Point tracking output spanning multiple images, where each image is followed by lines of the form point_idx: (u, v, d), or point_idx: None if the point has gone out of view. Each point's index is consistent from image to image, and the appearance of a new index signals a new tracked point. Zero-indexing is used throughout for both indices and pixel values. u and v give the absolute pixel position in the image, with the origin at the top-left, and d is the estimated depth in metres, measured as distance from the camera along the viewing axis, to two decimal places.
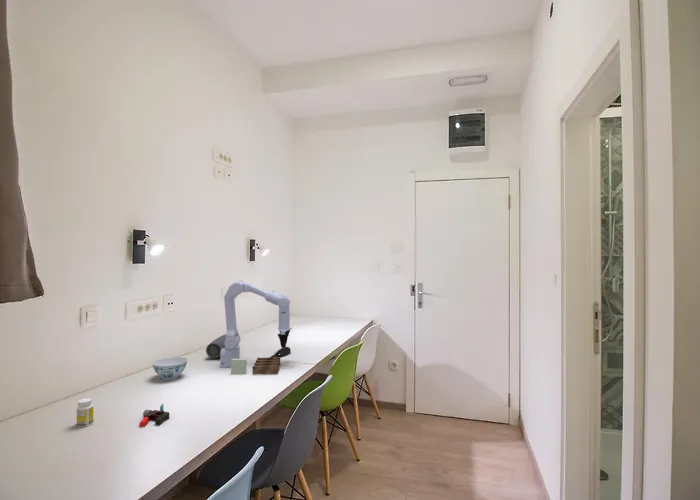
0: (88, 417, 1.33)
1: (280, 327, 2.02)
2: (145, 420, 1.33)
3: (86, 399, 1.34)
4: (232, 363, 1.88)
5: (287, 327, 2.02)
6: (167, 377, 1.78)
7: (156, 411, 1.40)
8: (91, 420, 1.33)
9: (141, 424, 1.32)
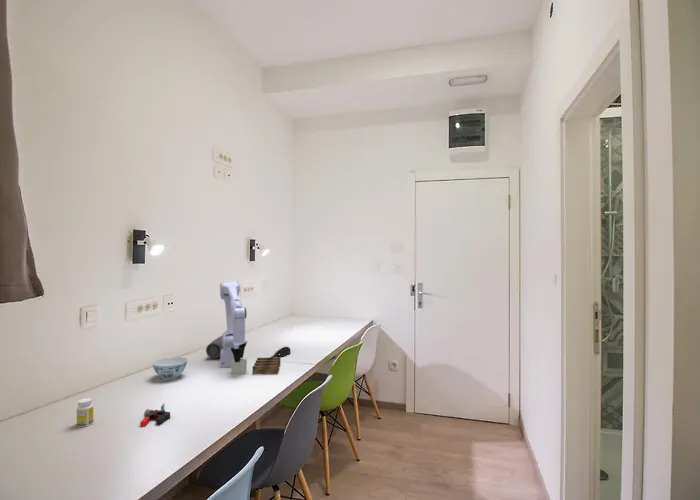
0: (88, 417, 1.33)
1: (234, 340, 1.87)
2: (146, 420, 1.34)
3: (86, 399, 1.34)
4: (232, 363, 1.88)
5: (242, 340, 1.87)
6: (167, 377, 1.78)
7: (157, 411, 1.40)
8: (91, 420, 1.33)
9: (142, 424, 1.32)
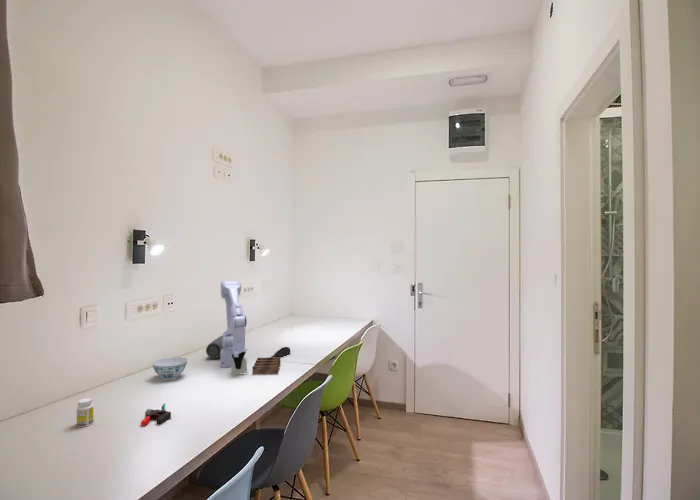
0: (88, 417, 1.33)
1: (234, 348, 1.87)
2: (146, 419, 1.34)
3: (86, 399, 1.34)
4: (232, 362, 1.88)
5: (242, 348, 1.87)
6: (167, 377, 1.78)
7: (158, 411, 1.40)
8: (91, 420, 1.33)
9: (142, 423, 1.32)
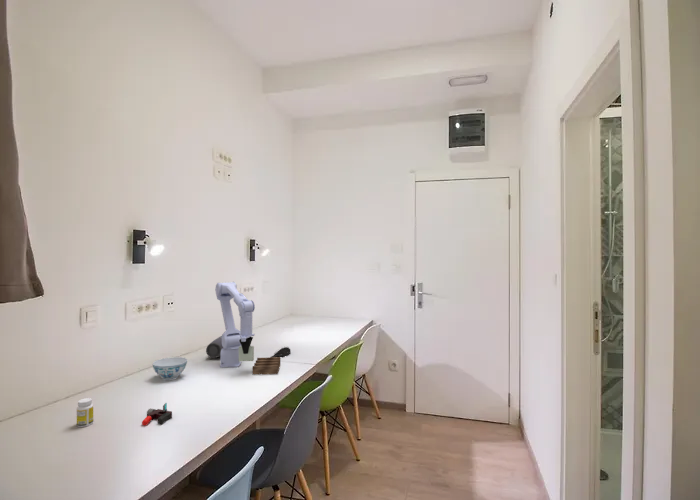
0: (88, 417, 1.33)
1: (241, 333, 1.88)
2: (148, 419, 1.34)
3: (86, 399, 1.34)
4: (239, 350, 1.89)
5: (249, 333, 1.89)
6: (167, 377, 1.78)
7: (159, 410, 1.41)
8: (91, 420, 1.33)
9: (143, 423, 1.33)
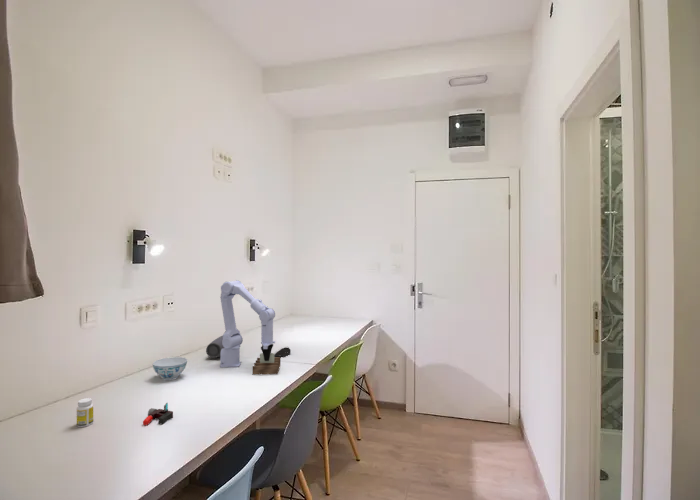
0: (88, 417, 1.33)
1: (263, 341, 1.93)
2: (148, 419, 1.34)
3: (86, 399, 1.34)
4: (260, 357, 1.94)
5: (270, 341, 1.93)
6: (167, 377, 1.78)
7: (160, 410, 1.41)
8: (91, 420, 1.33)
9: (144, 423, 1.33)
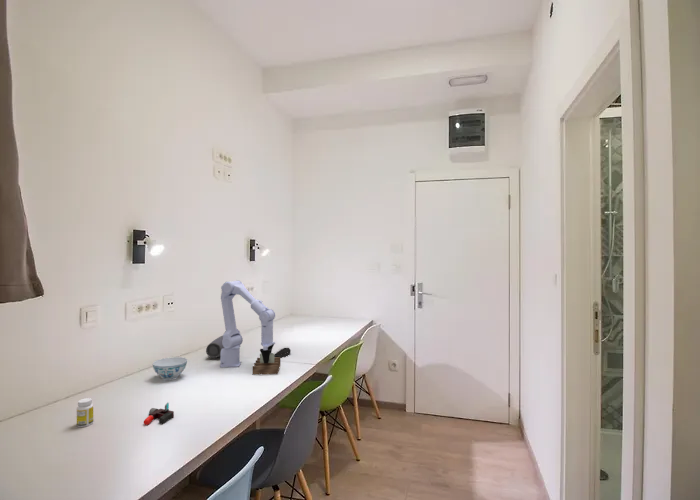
0: (88, 417, 1.33)
1: (263, 342, 1.93)
2: (149, 418, 1.35)
3: (86, 399, 1.34)
4: (260, 357, 1.94)
5: (270, 342, 1.93)
6: (167, 377, 1.78)
7: (161, 410, 1.41)
8: (91, 420, 1.33)
9: (145, 422, 1.33)
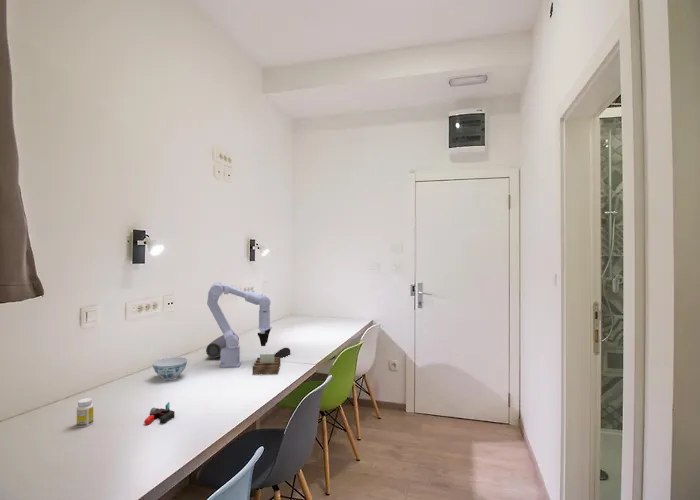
0: (88, 417, 1.33)
1: (260, 326, 2.05)
2: (150, 418, 1.35)
3: (86, 399, 1.34)
4: (260, 357, 1.94)
5: (267, 326, 2.05)
6: (167, 377, 1.78)
7: (162, 409, 1.41)
8: (91, 420, 1.33)
9: (146, 422, 1.33)
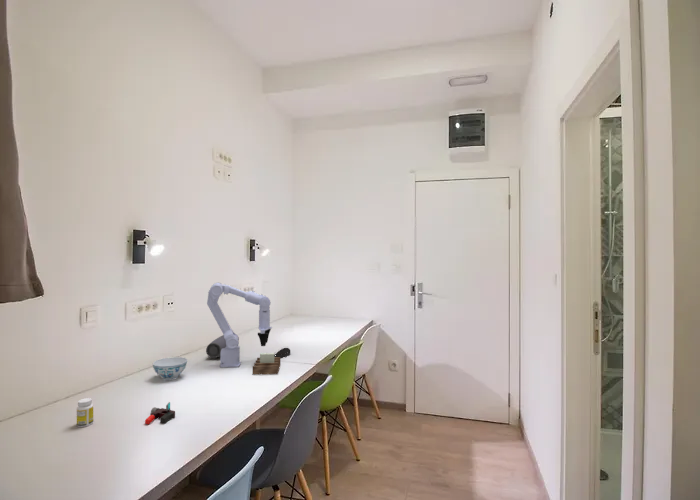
0: (88, 417, 1.33)
1: (260, 326, 2.05)
2: (151, 418, 1.35)
3: (86, 399, 1.34)
4: (260, 357, 1.94)
5: (267, 326, 2.05)
6: (167, 377, 1.78)
7: (163, 409, 1.41)
8: (91, 420, 1.33)
9: (146, 422, 1.33)
